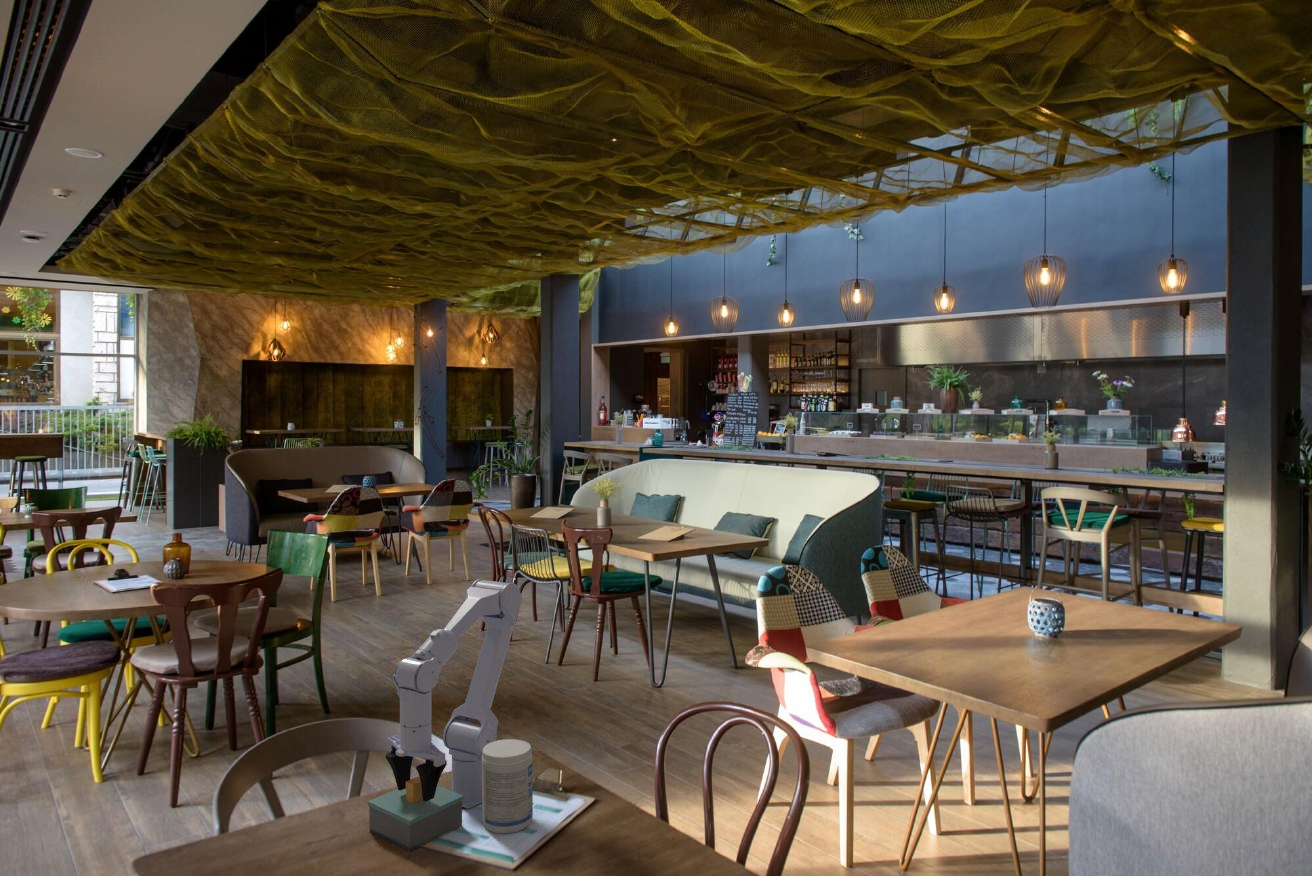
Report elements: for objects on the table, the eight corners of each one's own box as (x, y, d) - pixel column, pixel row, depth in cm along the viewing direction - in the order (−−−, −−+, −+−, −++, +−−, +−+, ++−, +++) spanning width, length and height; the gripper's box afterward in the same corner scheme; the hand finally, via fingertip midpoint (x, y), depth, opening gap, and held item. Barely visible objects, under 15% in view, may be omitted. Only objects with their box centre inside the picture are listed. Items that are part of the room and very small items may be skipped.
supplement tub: (540, 827, 164) (541, 750, 163) (494, 840, 159) (494, 762, 158) (519, 807, 172) (519, 734, 171) (474, 819, 167) (474, 744, 166)
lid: (421, 786, 171) (421, 761, 171) (463, 804, 164) (463, 777, 164) (367, 809, 161) (367, 783, 161) (409, 829, 154) (409, 801, 154)
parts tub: (421, 808, 171) (421, 783, 171) (462, 826, 164) (462, 800, 164) (369, 831, 161) (369, 805, 161) (410, 851, 154) (410, 824, 154)
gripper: (374, 720, 163) (374, 790, 164) (423, 738, 154) (423, 812, 155) (404, 709, 169) (405, 778, 169) (454, 726, 160) (454, 798, 161)
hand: (416, 793), depth 162 cm, fingers open, 7 cm apart
